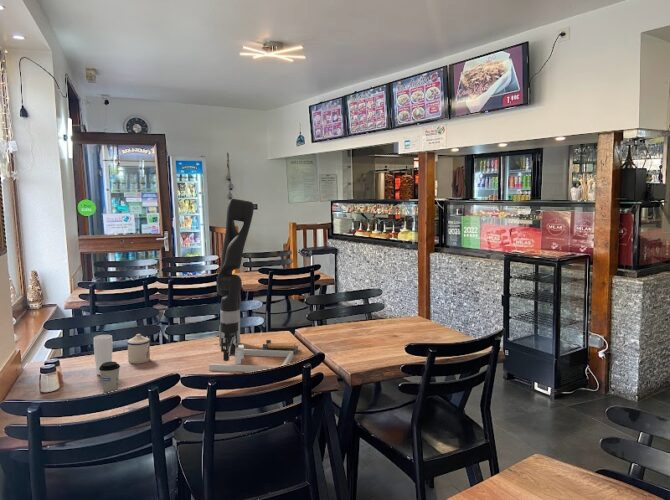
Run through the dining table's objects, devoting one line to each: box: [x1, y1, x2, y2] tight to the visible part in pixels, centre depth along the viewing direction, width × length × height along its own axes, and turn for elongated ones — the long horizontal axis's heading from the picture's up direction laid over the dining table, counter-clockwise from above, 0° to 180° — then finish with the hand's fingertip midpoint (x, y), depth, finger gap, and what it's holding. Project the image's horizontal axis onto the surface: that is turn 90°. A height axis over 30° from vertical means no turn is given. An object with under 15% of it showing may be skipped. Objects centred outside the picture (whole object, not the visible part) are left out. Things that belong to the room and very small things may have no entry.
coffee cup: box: [99, 360, 121, 394], centre depth 175 cm, size 7×7×10 cm
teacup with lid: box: [127, 333, 151, 365], centre depth 209 cm, size 12×9×12 cm
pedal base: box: [260, 339, 299, 356], centre depth 224 cm, size 16×8×4 cm, turn 84°
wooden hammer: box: [267, 342, 297, 348], centre depth 224 cm, size 14×5×1 cm, turn 84°
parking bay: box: [208, 348, 294, 372], centre depth 207 cm, size 31×22×2 cm
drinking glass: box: [93, 334, 114, 376], centre depth 192 cm, size 7×7×15 cm
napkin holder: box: [234, 344, 245, 365], centre depth 212 cm, size 15×11×6 cm
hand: (229, 357), depth 207 cm, fingers open, 8 cm apart
